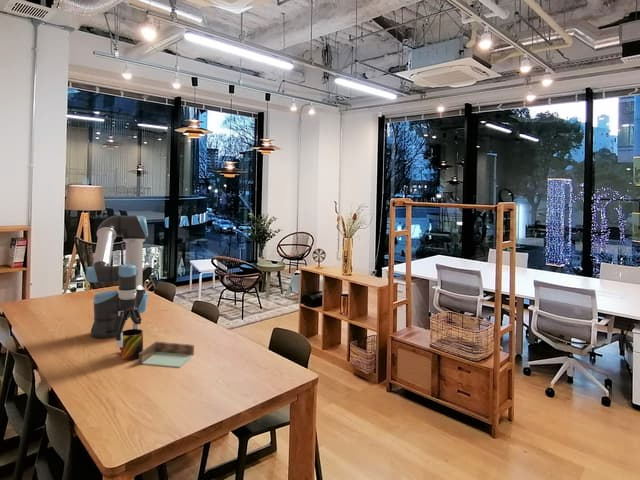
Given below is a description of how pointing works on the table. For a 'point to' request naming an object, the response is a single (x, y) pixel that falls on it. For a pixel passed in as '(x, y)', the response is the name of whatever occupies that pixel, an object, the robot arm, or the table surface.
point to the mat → (167, 359)
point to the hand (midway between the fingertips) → (127, 341)
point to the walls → (165, 350)
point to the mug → (131, 344)
